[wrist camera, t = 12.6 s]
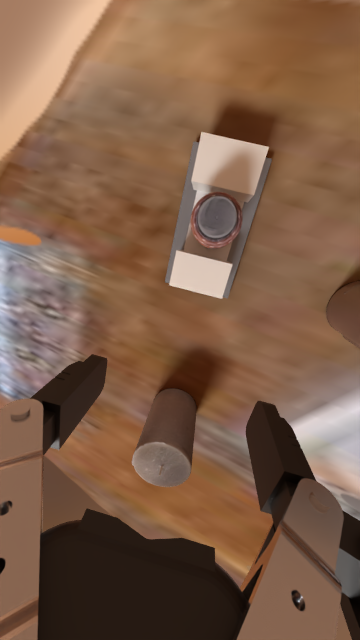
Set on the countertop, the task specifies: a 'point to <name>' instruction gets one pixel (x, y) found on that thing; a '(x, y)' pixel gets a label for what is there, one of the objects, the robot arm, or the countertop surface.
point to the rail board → (203, 178)
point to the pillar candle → (167, 440)
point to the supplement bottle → (216, 220)
